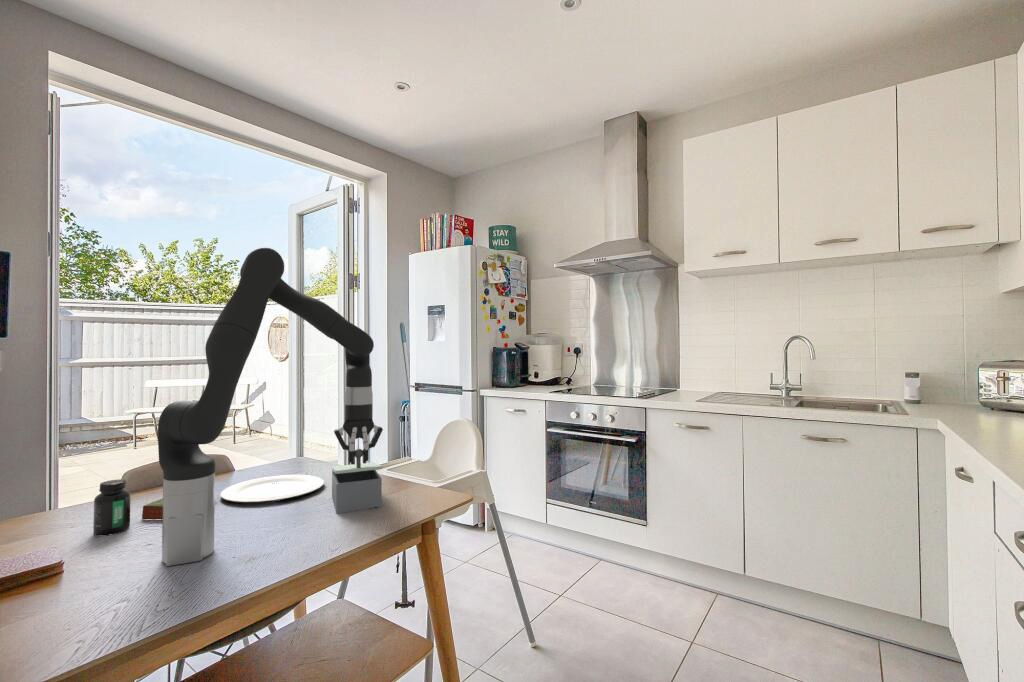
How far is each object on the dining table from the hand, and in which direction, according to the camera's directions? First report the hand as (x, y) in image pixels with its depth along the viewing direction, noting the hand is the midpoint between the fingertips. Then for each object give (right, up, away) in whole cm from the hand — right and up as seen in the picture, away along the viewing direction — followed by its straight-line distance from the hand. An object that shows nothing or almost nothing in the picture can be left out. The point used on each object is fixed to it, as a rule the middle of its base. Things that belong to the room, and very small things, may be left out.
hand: (358, 463), depth 131 cm
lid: (-2, -3, +5) cm, 6 cm away
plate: (-32, -13, +15) cm, 37 cm away
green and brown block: (-49, -13, -2) cm, 51 cm away
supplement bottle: (-55, -12, -17) cm, 59 cm away
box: (-2, -12, +4) cm, 13 cm away
